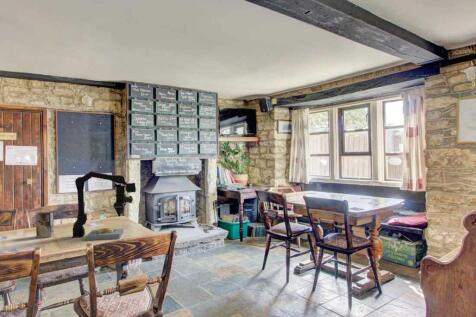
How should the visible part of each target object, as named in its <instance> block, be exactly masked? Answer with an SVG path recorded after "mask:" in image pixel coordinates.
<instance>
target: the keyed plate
mask: <svg viewBox="0 0 476 317" xmlns="http://www.w3.org/2000/svg"><path fill="white" fill-rule="evenodd" d="M123 234H124V228H114V233H100V234H98V229H92V230H90V232H88V233H87V235H86V241H99V240H100V241H102V240H104V241H105V240H119V239H121V237H122V236H123Z"/></svg>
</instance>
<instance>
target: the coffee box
mask: <svg viewBox="0 0 476 317" xmlns="http://www.w3.org/2000/svg"><path fill="white" fill-rule="evenodd" d="M54 219H55V218H54V211H40V212H36V213H35V228H36V229H35V230H36V235H35V237H36V238H37V239H40V238H52V237H53V236H55V223H54Z"/></svg>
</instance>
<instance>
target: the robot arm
mask: <svg viewBox="0 0 476 317" xmlns="http://www.w3.org/2000/svg"><path fill="white" fill-rule="evenodd" d="M92 178H96V179H102V180H106V181H111V182H114V185H112V187H113V188H115V196H114V197H115V202H114V203H113V205H112V206H113V209H114V210H115V212H116V214H117V216H118V217H121V215H123V214H124V209H125V206H126V205H127V203H129V204H132V203H133V201H134V197H133V196H132V195H129V196H127V195H126V193H125V192H127V194H128V193H131V194H132V193H136V191H137V188H136V183H135V182H129V183H128V182H127V181H126V178H125V177H124V176H123V175H121V174H106V173H102V172H98V171H97V172H96V171H93V170H92V171H89V172H88V173H86V174H84V175H83V176H78V177H77V178H76V179H75V181H74V183H75V188H76V191H77V216H76V217H77V218H76V221H75V222H74V223H73V225H72V237H71V238H84V236H85V235H86V229H85V225H86V223H87V221H88V212H86V211H85V194H84V192H85V191H84V190H85V185H86V184H85V183H86V182H87V181H88V180H90V179H92Z"/></svg>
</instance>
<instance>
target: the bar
mask: <svg viewBox="0 0 476 317" xmlns="http://www.w3.org/2000/svg"><path fill="white" fill-rule="evenodd" d="M114 229H115V228H114V227H108V228H106V227H105V228H103V227H101V228H98V229H97V230H98V234H100V233H114Z"/></svg>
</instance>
